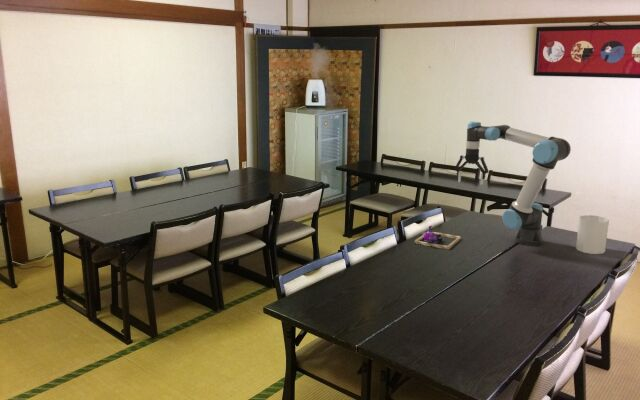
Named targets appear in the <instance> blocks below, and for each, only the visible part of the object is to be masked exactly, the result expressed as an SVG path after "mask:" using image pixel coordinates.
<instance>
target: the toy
mask: <svg viewBox="0 0 640 400" xmlns="http://www.w3.org/2000/svg"><path fill="white" fill-rule="evenodd" d="M428 231H429V232H428ZM428 231H427V232H426V233H425V234H424V237H423V238H424V239H423V240H424V242H425V241H426V242H427V243H431V242H432V243H433V244H437V243H436V242H442V241H443V238H440V237H442V236H441V235H440V234H439V235H438V234H434V233H433V232H434V231H432V225H429V226H428Z"/></svg>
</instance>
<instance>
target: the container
mask: <svg viewBox="0 0 640 400" xmlns="http://www.w3.org/2000/svg"><path fill="white" fill-rule="evenodd" d="M578 219H579V220H578V227H577V234H576V236H577V237H576V242H575V243H576V244H575V249H576V250H577V251H578V252H581V253H584V254H590V255H591V254H592V255H599V254H604V253H605V252H606V246H607V240H608V239H607V238H608V231H609V225H610V224H609V223H610V219H608V218H607V217H603V216H598V215H591V214H590V215H586V214H585V215H579V218H578Z"/></svg>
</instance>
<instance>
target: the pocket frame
mask: <svg viewBox="0 0 640 400" xmlns="http://www.w3.org/2000/svg"><path fill="white" fill-rule="evenodd" d="M427 232H429V230H428V231H427ZM427 232H426V231H421V232H419V234H418V236H419V235H421V236H419V237H417V238H416V239H415V240H414V241H413V243H416V244H417V245H420V244H421V246H425V247H426V246H428V247H431V246H432V248H438V249H444V250H450V249H452V248H453V246H455V245H456V244H457V243H458V242H460V241H461V240H462V235H461V236H460V235H454V234H448V233H443V232H435V231H432V232H433V233H434V234H438V235H439V234H440V235H441V236H440V237H444V238H448V239H449V238H450V239H454V240H453V241H451V243H449V244H447V245H444V244H437V243H436V244H433V242H432V243H431V242H425V241H422V240H424V239H423V237H424V234H425V233H427ZM420 240H421V241H420ZM416 244H415V245H416Z"/></svg>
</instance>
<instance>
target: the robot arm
mask: <svg viewBox="0 0 640 400" xmlns="http://www.w3.org/2000/svg"><path fill="white" fill-rule="evenodd" d="M499 139H502V140H506V141H508V142H512V143H516V144H519V145H523V146H526V147H529V148H533V149H532V153H531V154H532V159H531V161H532V163H533V165H532V167H531V169H530V171H529V173H528V175H527V177H526V180H525V181H524V184H523V185H522V188H521V189H520V192H519V194H518V197H517V199H516V200H514V201H512V203H511V204H510V206H509V208H508V209H506V210H504V211H503V213H502V221H503V224H504V226H505V227H506V228H508V229H510V230H517V231H516V234H515V236H514V241H515V242H516V243H518V244H521V245H526V246H540V245H542V244H543V239H544V238H543V236H542V221H543V219H542V218H543V212H544V211H543V205H542V204H540V203H538V202H535V201H536V198H537V197H538V195H539V193H540V191H541V188H542V187H543V185H544V182H545V181H546V178H547V177H548V175H549V173H550V171H551V170H554V169H555V167H556V166H557V164H558V161H563V160H565V159H567V158H568V157H569V155H570V154H571V145H570V143H569V141H567V139H564V138H560V137H556V136H545V135H540V134H538V133H537V134H536V133H532V132H529V131H526V130H522V129H518V128H514V127H511V126H510V125H509V124H501V125H493V126H491V125H490V126H483V125H482V123H481V122H479V121H469V122H468V123H467V128H466V143H465V144H466V145H465V147H466V148H465V155H463V154H461V155H460V157H459V159H458V161H457V163H456V165H455V166H454V168H453V170H454V171H456V177H457V179H458V180H457V183H461V182H462V181H461V180H462V171H461V170H462V169H463V168H464V167H465V166H467V164H470V165H475V166H477V168H478V170H479V171H480V172H481V174H480V186H482V185H483V184H484V180H485V179H486V174H488V173H489V172H490V171H489V169H488V166H487V164H486V161H485V157H484V156H481V157H480V155H479V154H480V149H479V148H480V141H481V140H486V141H497V140H499ZM464 159H465V161H464V162H463V160H464ZM479 160H480V162H481V164H480V162H479ZM462 162H463V163H462ZM461 163H462V164H461Z"/></svg>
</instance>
